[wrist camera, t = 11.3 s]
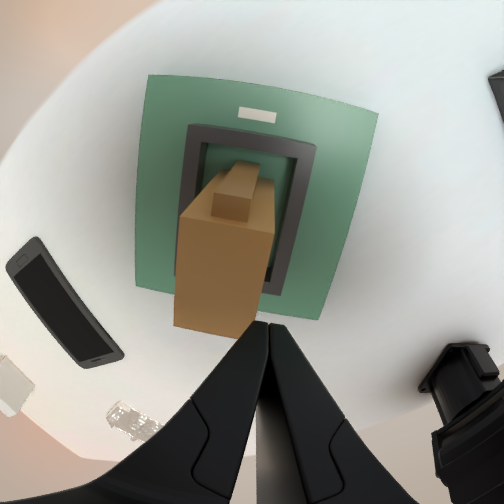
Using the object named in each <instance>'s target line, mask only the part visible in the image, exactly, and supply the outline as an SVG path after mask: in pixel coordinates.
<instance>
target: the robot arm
mask: <svg viewBox="0 0 504 504" xmlns="http://www.w3.org/2000/svg"><path fill="white" fill-rule="evenodd" d="M489 351H490V348H489V346H488V345H463V344H450V345H448V346H447V347H446V348H445V350H444V351H443V353H442V355H441V356H440V358H439V359H438V361H437V362H436V364H435V365H434V366H433V368H432V369H431V371H430V372H429V374H428V375H427V376H426V378H425V379H424V381H423V382H422V383H421V385H420V386H419V387H418V390H419V392H420V393H431V394H432V397H433V399H434V402H435V404H436V407H437V409H438V412H439V414H440V417H441V419H442V422H443V425H444V426H443V427H442V428H440V429H439V430H436V431H434V432H432V433H431V435H432V447H433V454H434V462H435V470H436V473H435V474H436V477H437V478H440V479H441V481H442V483H443V484H444V485H445V486H446V487H448V489H449V493H450V498H451V502H452V503H453V504H504V380H503V381H502V382H501V381H500V380H499V378H498V375H499V370H498V368H497V367H496V365H495V363H494V362H493V360H492V358H491V357H490V355H489V354H488V352H489ZM255 410H256V476H257V477H256V478H257V504H419V503H418V502H417V501H415V500H414V499H413V498H412V497H411V496H410V495H409V494H408V493H407V492H406V491H405V490H404V489H403V488H402V486H401V485H400V484H399V483H398V482H397V481H396V480H395V479H394V478H393V477H392V475H391V474H390V473H389V472H388V471H387V470H386V469H385V468H384V466H383V465H382V464H381V463H380V462H379V461H378V460H377V459H376V457H375V456H374V455H373V454H372V452H371V451H370V450H369V449H368V448H367V446H366V445H365V444H364V442H363V441H362V440H361V438H360V437H359V435H358V434H357V433H356V431H355V430H354V428H353V427H352V426H351V424H350V423H349V421H348V420H347V419H344V418H345V415H344V414H343V412H342V411H341V409H340V408H339V406H338V405H337V403H336V402H335V400H334V399H333V397H332V396H331V394H330V393H329V391H328V390H327V388H326V387H325V385H324V384H323V382H322V381H321V379H320V378H319V376H318V375H317V373H316V372H315V370H314V369H313V367H312V366H311V364H310V363H309V361H308V360H307V358H306V357H305V355H304V354H303V352H302V351H301V349H300V348H299V346H298V345H297V343H296V342H295V340H294V339H293V337H292V336H291V334H290V332H289V331H288V329H287V328H286V327H285V326H284V325H281V324H274V323H270V324H269V325H268V323H267V322H262V321H256V320H254V321H252V322H251V324H250V325H249V326H248V327H247V329H246V330H245V331H244V332H243V334H242V335H241V336H240V337H239V339H238V340H237V341H236V342H235V344H234V345H233V346H232V347H231V349H230V350H229V351H228V352H227V354H226V355H225V356H224V357H223V358H222V360H221V361H220V362H219V363H218V365H217V366H216V367H215V368H214V369H213V371H212V372H211V373H210V374H209V375H208V377H207V378H206V379H205V380H204V381H203V383H202V384H201V385H200V386H199V387H198V389H197V390H196V391H195V392H194V393H193V394H192V396H191V397H190V399H189V400H187V401H186V402H185V404H184V405H183V406H182V407H181V408H180V409H179V411H178V412H177V413H176V414H175V415H174V416H173V417H172V418H171V419H170V420H169V421H168V422H167V423H166V424H165V425H164V426H163V427H162V428H161V429H160V430H159V431H158V432H156V433H155V434H154V435H153V436H152V437H151V438H150V439H148V440H147V441H146V442H145V443H144V444H142V445H141V446H140V447H139V448H137V449H136V450H135V451H134V452H132V453H131V454H130V455H129V456H127V457H126V458H125V459H123V460H122V461H121V462H120V463H118V464H117V465H116V466H114V467H113V468H112V469H110V470H109V471H108V472H106V473H105V474H103V475H102V476H100V477H98V478H97V479H95V480H93V481H91V482H89V483H87V484H84V485H81V486H78V487H75V488H71V489H68V490H63V491H60V492H55V493H51V494H46V495H41V496H37V497H32V498H26V499H21V500H14V501H7V502H0V504H229V503H230V499H231V497H232V493H233V490H234V487H235V483H236V480H237V476H238V473H239V469H240V466H241V462H242V458H243V455H244V451H245V448H246V444H247V440H248V437H249V433H250V429H251V425H252V422H253V418H254V414H255Z"/></svg>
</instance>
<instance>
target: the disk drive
mask: <svg viewBox="0 0 504 504" xmlns="http://www.w3.org/2000/svg"><path fill="white" fill-rule="evenodd" d="M488 81H489V83H490V85H491V88H492V91H493V93H494V95H495V98H496V101H497V104H498V107H499V110H500V113H501V116H502V119H503V122H504V70H502V72H499V73H497V74H495V75H492V76H490V77H489V78H488Z"/></svg>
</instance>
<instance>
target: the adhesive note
mask: <svg viewBox="0 0 504 504" xmlns="http://www.w3.org/2000/svg"><path fill="white" fill-rule="evenodd" d="M34 387H35V384H34V383H33V382H32V381H31V380H30V379H29V378H28V377H27V376H26V375H25V374H24V373H23V372H22V371H21V370H20V369H19V368H18V367H17V366H16V365H15V364H14V363H13V362H12V361H11V360H10V359H9V358H8V357H7V356H5V357H4V359H3V360H2V361H1V362H0V410H1V411H2V412H3V413H4V414H5V415H6V416H7V417H11V416H13V415H16V414H17V413H18V412H19V410H20V409H21V407H22V405H23V404H24V402H25V401H26V399H27V398H28V396H29V394H30V393H31V391H32V390H33V388H34Z"/></svg>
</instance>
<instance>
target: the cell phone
mask: <svg viewBox="0 0 504 504" xmlns="http://www.w3.org/2000/svg"><path fill="white" fill-rule="evenodd" d="M6 271H7V273H8V275H9V276H10V278H11V280H12V281H13V283H14V284H15V286H16V287H17V289H18V290H19V292H20V293H21V294H22V296H23V297H24V299H25V300H26V302H27V303H28V304H29V306H30V307H31V309H32V310H33V311H34V313H35V314H36V315H37V317H38V318H39V319H40V320H41V322H42V323H43V324H44V326H45V327H46V328H47V329H48V331H49V332H50V333H51V334H52V336H53V337H54V338H55V339H56V340H57V342H58V343H59V344H60V345H61V346H62V348H63V349H64V350H65V351H66V352H67V353H68V354H69V356H70V357H71V358H72V359H73V360H74V361H75V362H76V363H77V364H78V365H79V366H80V367H82V368H84V369H89V368H93V367H97V366H101V365H105V364H108V363H112V362H116V361H119V360H121V359H123V358H124V353H123V351H122V350H121V349H120V348H119V346H118V345H117V344H116V343H115V341H114V340H113V339H112V338H111V337H110V335H109V334H108V333H107V332H106V331H105V329H104V328H103V327H102V326H101V324H100V323H99V322H98V321H97V319H96V318H95V317H94V316H93V314H92V313H91V312H90V310H89V309H88V308H87V307H86V305H85V304H84V303H83V301H82V300H81V299H80V297H79V296H78V294H77V293H76V292H75V290H74V289H73V287H72V286H71V285H70V283H69V282H68V280H67V279H66V278H65V276H64V275H63V273H62V272H61V270H60V269H59V267H58V266H57V264H56V263H55V261H54V260H53V258H52V256H51V255H50V253H49V252H48V250H47V249H46V247H45V245H44V244H43V242H42V241H41V240H40V239H39V237H33V238H32V239H30V240H29V241H28V242H27V243H26V244H25V245H24V246H23V247H22V248H21V249H20V250H19V251H18V252H17V253H16V254H15V255H14V256H13V257H12V258H11V259H10V260H9V261H8V262H7V264H6Z"/></svg>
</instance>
